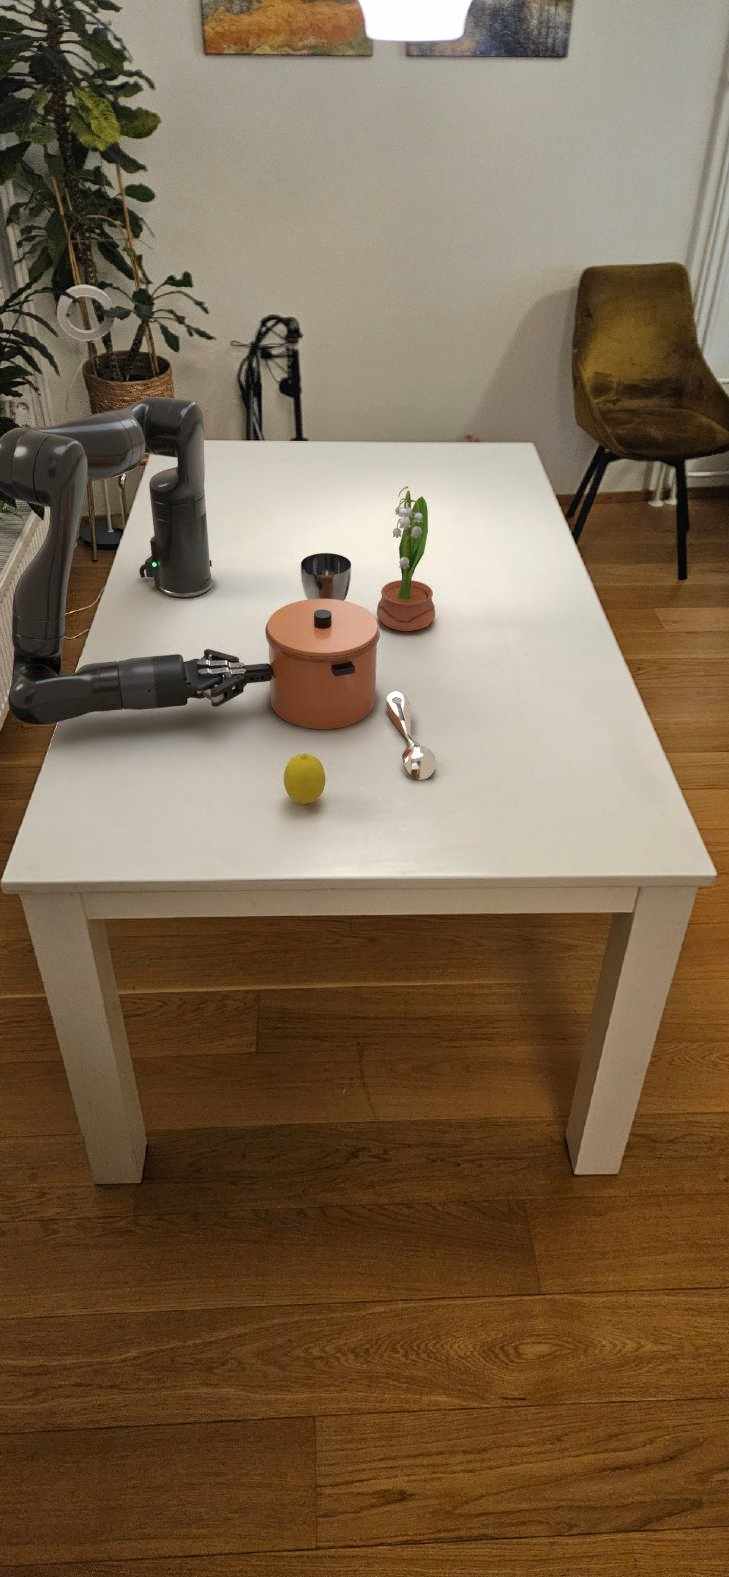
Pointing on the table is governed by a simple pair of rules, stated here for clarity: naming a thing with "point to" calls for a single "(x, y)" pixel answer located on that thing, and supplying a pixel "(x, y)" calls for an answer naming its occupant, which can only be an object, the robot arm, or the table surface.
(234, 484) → the table surface
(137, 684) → the robot arm
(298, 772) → the lemon
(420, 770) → the silver elongated piece
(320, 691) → the copper pot
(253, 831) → the table surface
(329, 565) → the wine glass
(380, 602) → the potted flower
